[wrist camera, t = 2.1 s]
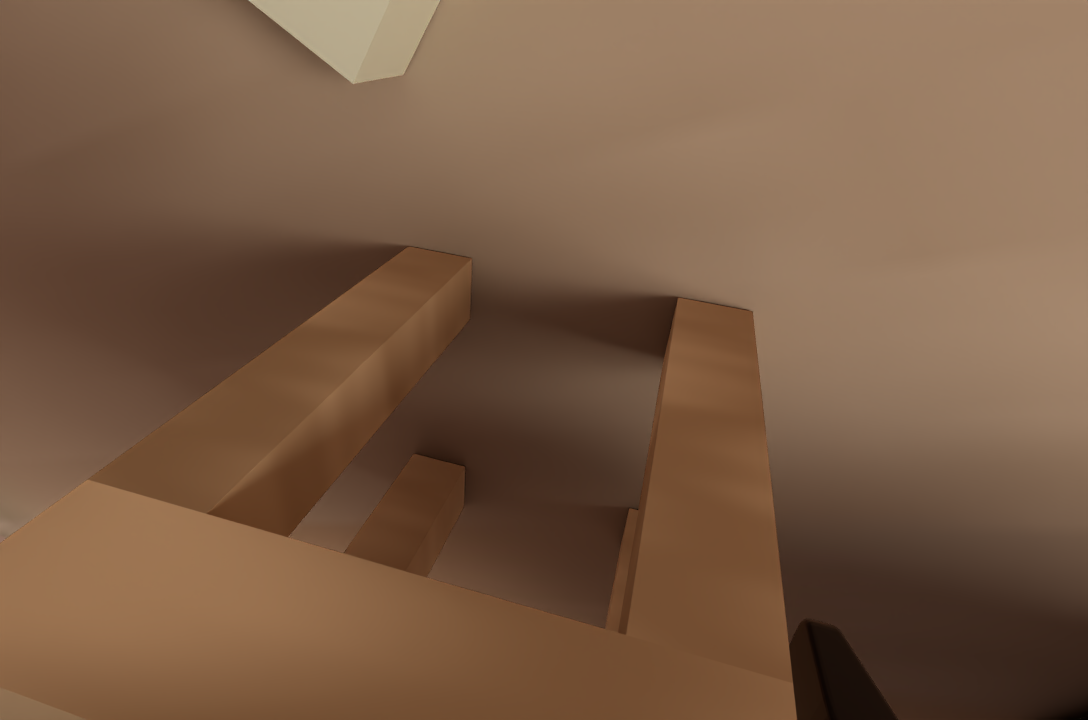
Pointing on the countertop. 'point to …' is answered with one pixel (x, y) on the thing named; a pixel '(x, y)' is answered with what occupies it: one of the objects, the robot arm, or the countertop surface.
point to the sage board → (356, 32)
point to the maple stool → (394, 551)
